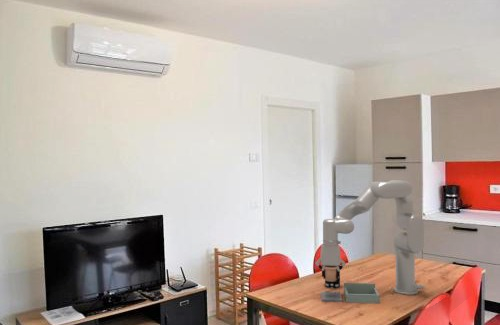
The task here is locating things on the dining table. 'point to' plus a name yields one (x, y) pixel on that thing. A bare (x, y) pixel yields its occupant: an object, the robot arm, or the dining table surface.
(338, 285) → the spotted tube
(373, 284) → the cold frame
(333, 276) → the pot
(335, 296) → the slate tile
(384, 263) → the dining table surface
